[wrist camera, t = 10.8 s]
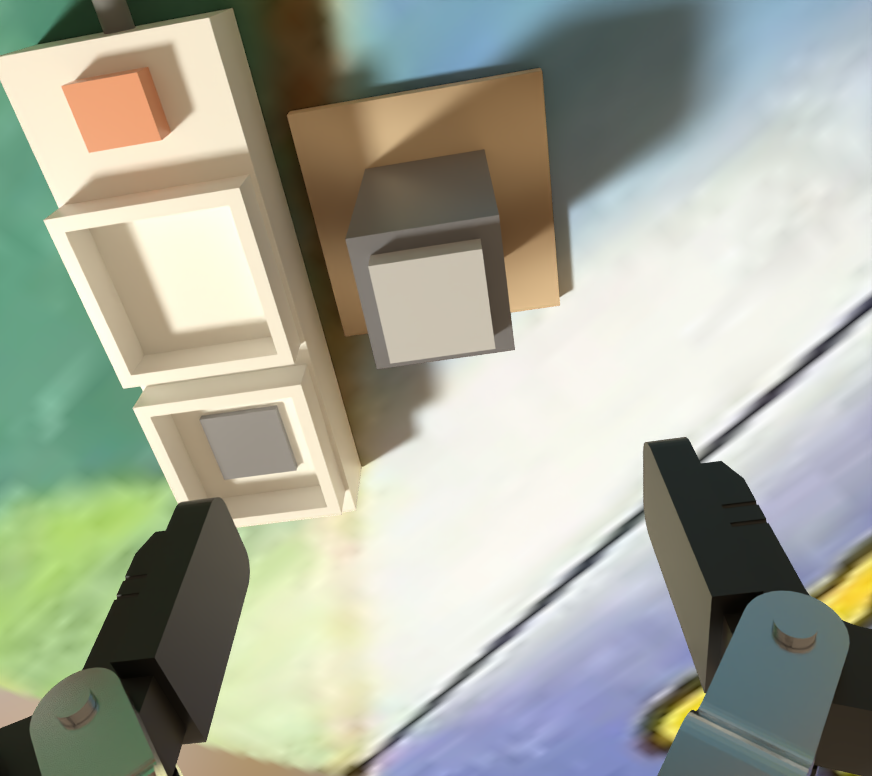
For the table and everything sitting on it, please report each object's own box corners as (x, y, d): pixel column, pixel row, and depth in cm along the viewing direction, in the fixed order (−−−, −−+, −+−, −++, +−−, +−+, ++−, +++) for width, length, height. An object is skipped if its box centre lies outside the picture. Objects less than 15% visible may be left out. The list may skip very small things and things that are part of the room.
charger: (365, 169, 26) (342, 249, 20) (484, 149, 26) (501, 224, 19) (388, 278, 29) (374, 382, 22) (498, 261, 28) (517, 363, 22)
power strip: (-23, -94, 22) (-116, -98, 19) (191, -139, 22) (140, -152, 18) (222, 485, 35) (196, 553, 32) (361, 468, 35) (352, 534, 31)
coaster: (289, 111, 26) (287, 115, 25) (540, 67, 25) (542, 70, 24) (346, 329, 31) (345, 336, 30) (557, 299, 30) (559, 305, 29)
